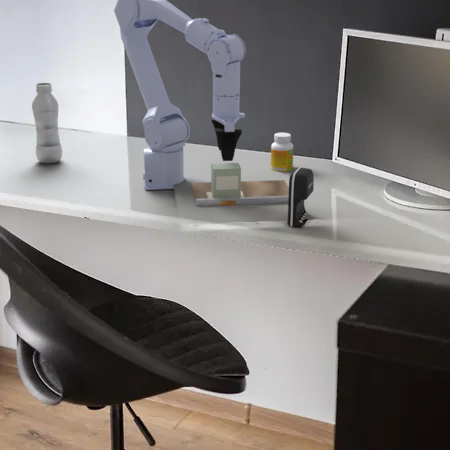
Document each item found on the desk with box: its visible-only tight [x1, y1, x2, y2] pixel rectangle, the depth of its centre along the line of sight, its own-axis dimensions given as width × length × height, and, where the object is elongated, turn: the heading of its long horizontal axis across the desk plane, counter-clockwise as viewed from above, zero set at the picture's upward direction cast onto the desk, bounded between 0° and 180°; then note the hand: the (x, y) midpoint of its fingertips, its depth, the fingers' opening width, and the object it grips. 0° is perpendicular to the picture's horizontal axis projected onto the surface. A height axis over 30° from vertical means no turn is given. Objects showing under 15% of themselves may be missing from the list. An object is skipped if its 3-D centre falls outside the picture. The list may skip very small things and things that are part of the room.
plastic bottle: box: [31, 82, 63, 164], centre depth 206 cm, size 6×7×20 cm
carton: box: [210, 162, 242, 198], centre depth 182 cm, size 4×6×7 cm
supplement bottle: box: [270, 132, 294, 173], centre depth 201 cm, size 5×5×10 cm
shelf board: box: [190, 179, 289, 207], centre depth 186 cm, size 22×15×2 cm
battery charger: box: [287, 166, 315, 228], centre depth 170 cm, size 7×4×11 cm, turn 160°
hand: (225, 155), depth 181 cm, fingers open, 7 cm apart
